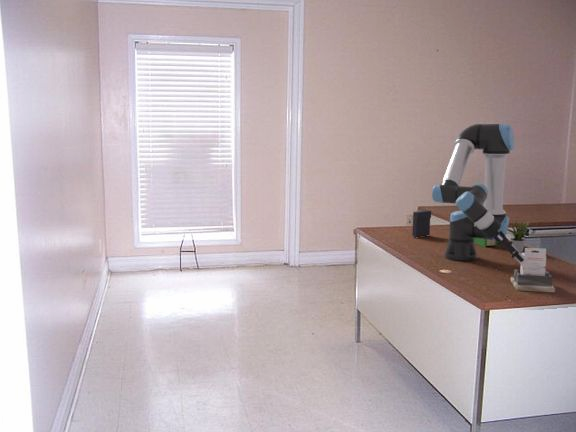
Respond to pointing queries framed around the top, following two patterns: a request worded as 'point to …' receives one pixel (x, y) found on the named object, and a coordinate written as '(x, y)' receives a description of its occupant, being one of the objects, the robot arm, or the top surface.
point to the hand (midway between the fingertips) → (524, 262)
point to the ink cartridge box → (534, 262)
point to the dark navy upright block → (421, 223)
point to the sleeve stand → (532, 282)
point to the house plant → (518, 236)
